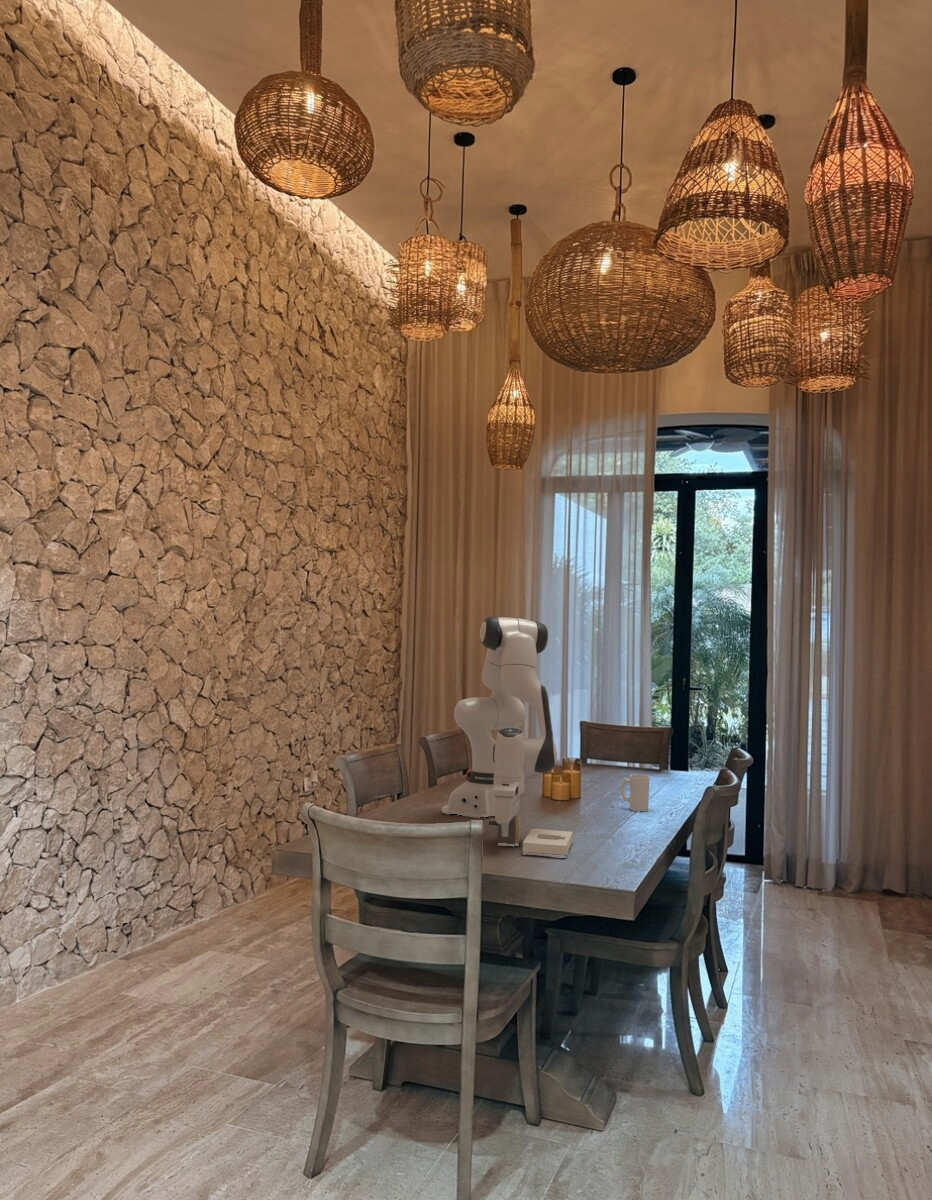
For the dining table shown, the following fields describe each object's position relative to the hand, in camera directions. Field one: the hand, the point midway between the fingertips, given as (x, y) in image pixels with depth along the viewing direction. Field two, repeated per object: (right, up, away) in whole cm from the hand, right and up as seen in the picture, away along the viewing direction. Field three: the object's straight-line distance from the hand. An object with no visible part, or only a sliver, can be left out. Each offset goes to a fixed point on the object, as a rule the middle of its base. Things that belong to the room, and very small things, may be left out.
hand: (507, 833), depth 261 cm
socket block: (+11, -4, -4) cm, 12 cm away
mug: (+47, -7, +57) cm, 74 cm away
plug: (0, -3, 0) cm, 3 cm away
